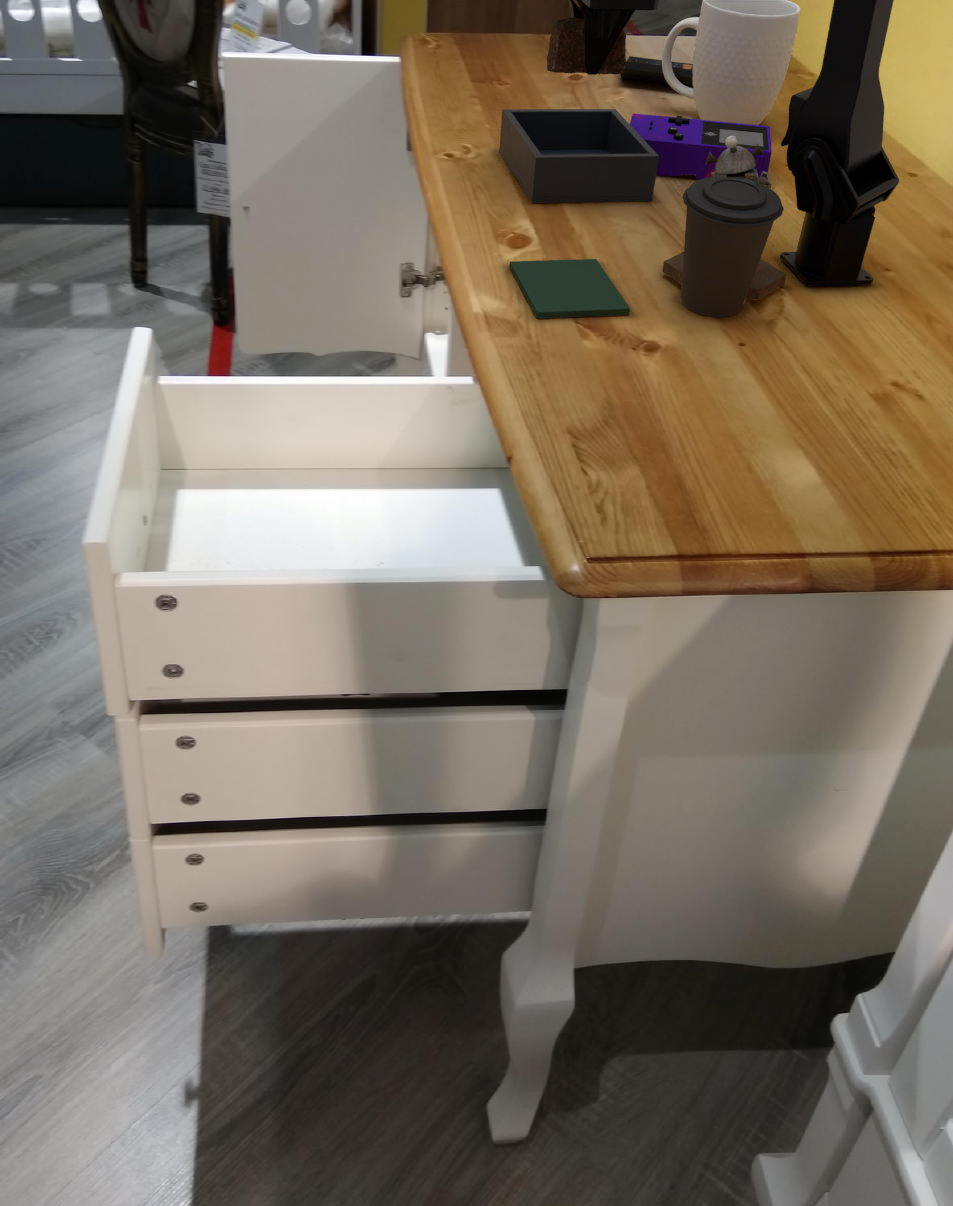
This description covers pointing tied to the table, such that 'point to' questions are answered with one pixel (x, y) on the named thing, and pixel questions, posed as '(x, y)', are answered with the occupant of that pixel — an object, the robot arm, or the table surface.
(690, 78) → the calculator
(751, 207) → the coffee cup
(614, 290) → the mat
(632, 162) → the open box
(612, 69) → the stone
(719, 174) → the robot figurine
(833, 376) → the table surface
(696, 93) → the mug
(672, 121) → the handheld gaming console
